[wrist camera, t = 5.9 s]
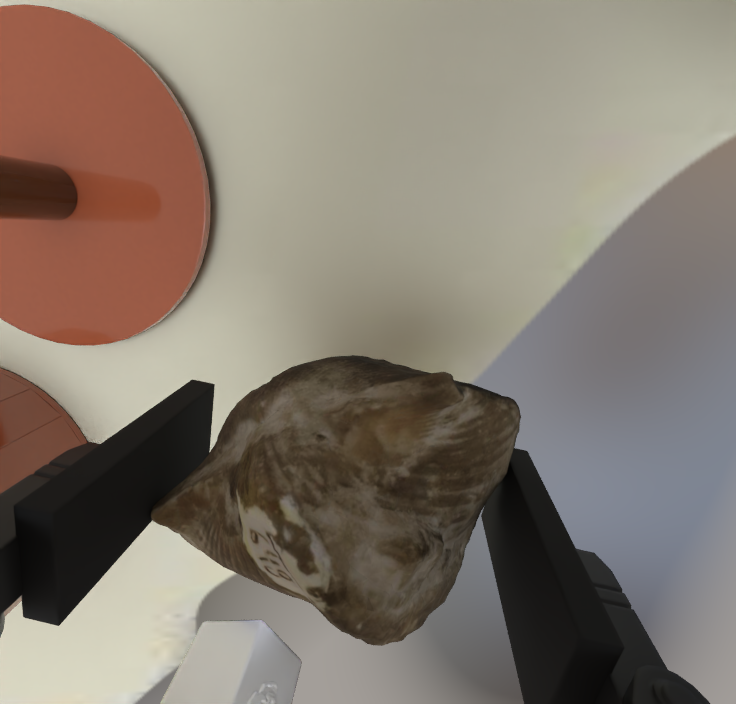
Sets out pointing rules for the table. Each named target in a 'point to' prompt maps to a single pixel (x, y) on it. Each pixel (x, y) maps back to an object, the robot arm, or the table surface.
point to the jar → (235, 666)
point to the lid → (92, 183)
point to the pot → (30, 432)
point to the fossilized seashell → (349, 488)
